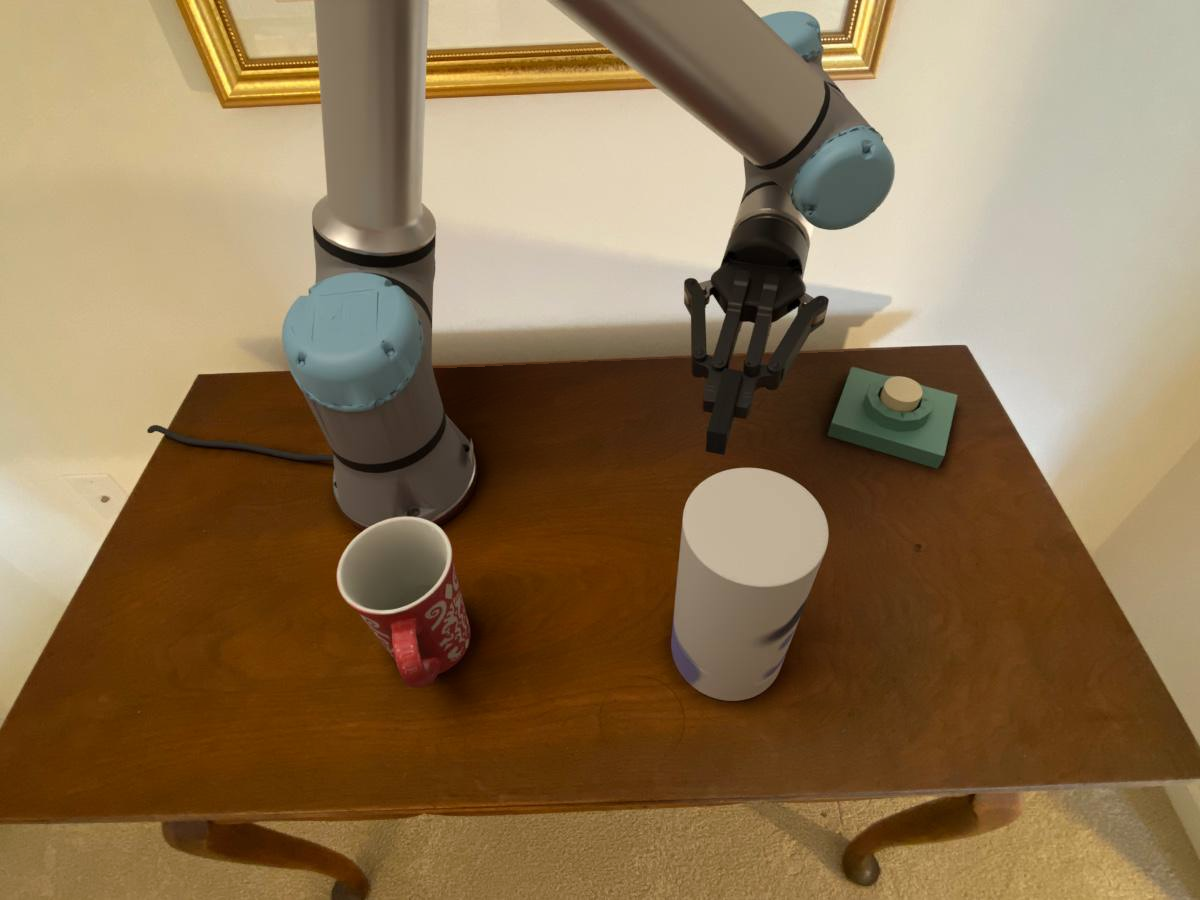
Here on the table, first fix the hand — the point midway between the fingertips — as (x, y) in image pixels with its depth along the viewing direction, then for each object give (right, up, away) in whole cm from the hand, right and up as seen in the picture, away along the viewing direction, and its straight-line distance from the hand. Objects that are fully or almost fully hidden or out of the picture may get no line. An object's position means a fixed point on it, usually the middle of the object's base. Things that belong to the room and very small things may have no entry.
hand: (715, 442), depth 55 cm
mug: (-24, -20, +11) cm, 33 cm away
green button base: (+24, +3, +27) cm, 37 cm away
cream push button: (+24, +5, +24) cm, 35 cm away
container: (+3, -19, +10) cm, 21 cm away
